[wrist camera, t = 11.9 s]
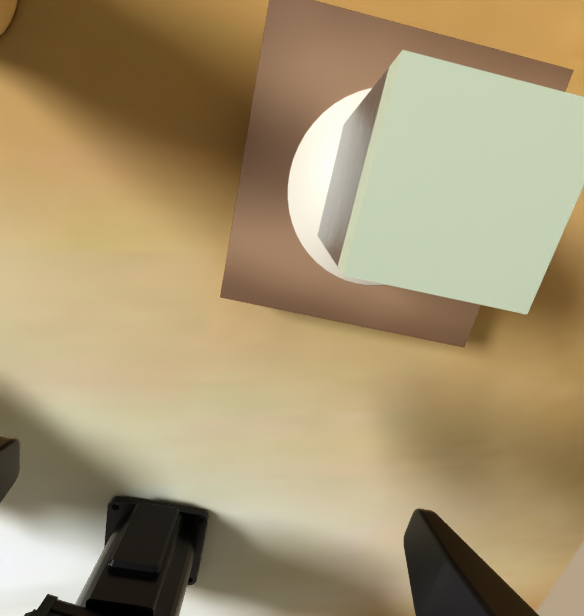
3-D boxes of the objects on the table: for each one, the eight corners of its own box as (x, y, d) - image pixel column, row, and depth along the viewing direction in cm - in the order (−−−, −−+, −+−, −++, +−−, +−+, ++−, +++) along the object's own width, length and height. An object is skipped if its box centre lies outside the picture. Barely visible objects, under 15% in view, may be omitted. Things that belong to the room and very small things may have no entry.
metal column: (415, 257, 16) (527, 314, 9) (317, 235, 16) (342, 275, 8) (449, 150, 15) (618, 106, 7) (343, 124, 15) (402, 49, 7)
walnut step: (443, 326, 21) (469, 349, 18) (230, 281, 20) (219, 297, 17) (530, 91, 17) (580, 70, 14) (274, 24, 16) (271, -13, 13)
